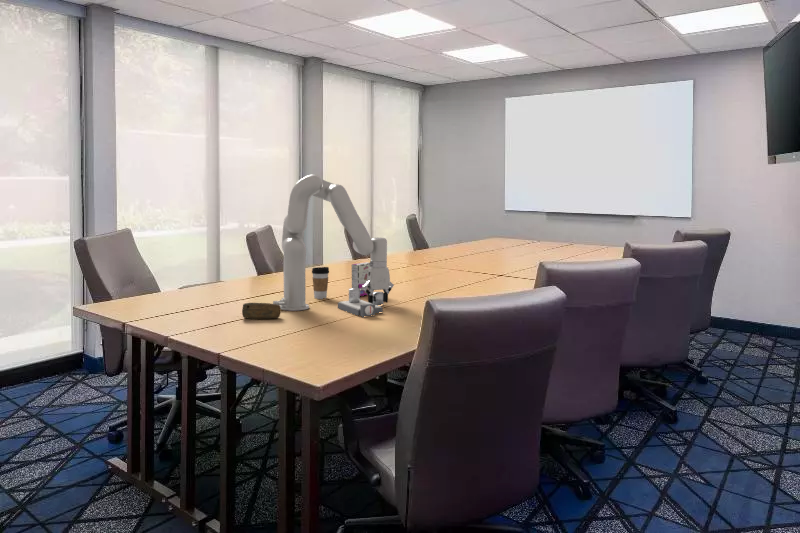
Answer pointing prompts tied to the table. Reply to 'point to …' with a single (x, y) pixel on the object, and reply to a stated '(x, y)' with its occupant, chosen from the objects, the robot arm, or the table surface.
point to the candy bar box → (360, 276)
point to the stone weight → (260, 311)
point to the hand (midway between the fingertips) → (378, 302)
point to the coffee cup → (320, 282)
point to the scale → (360, 308)
